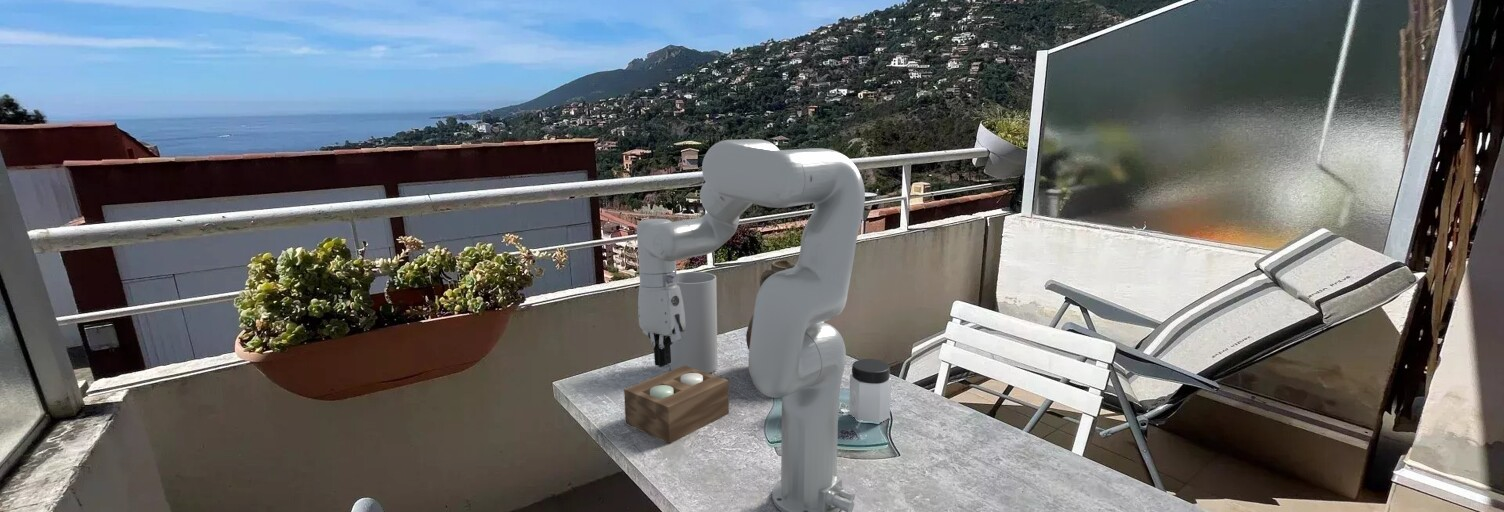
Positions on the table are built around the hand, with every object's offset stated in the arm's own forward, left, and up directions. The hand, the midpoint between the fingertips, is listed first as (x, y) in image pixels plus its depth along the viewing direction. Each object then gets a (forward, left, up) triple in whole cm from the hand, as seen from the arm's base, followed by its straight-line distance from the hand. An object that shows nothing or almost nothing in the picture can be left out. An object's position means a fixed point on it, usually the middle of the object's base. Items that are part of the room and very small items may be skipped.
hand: (663, 364), depth 134 cm
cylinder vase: (+19, -28, -15) cm, 36 cm away
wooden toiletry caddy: (+1, -5, -14) cm, 15 cm away
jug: (-3, -40, -15) cm, 42 cm away
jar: (-31, -33, -15) cm, 47 cm away
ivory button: (+1, -9, -10) cm, 14 cm away
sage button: (+1, 0, -10) cm, 10 cm away
